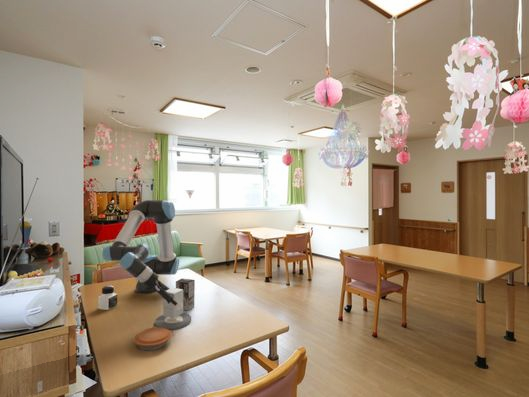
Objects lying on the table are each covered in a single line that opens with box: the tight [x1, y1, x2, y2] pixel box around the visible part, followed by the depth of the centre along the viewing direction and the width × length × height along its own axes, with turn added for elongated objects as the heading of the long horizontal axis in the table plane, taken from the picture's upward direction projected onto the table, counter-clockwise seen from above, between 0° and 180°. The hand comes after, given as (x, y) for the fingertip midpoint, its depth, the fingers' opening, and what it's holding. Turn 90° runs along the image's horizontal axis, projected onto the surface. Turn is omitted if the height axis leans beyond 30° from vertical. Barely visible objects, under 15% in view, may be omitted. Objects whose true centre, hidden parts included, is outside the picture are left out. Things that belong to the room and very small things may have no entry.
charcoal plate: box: [154, 312, 192, 331], centre depth 149 cm, size 18×18×1 cm
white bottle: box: [97, 285, 118, 311], centre depth 165 cm, size 7×7×12 cm
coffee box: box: [175, 278, 196, 311], centre depth 167 cm, size 9×6×16 cm
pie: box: [134, 327, 173, 352], centre depth 127 cm, size 16×16×5 cm
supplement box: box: [162, 287, 184, 318], centre depth 148 cm, size 7×7×13 cm
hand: (179, 304), depth 150 cm, fingers closed on supplement box, 10 cm apart
